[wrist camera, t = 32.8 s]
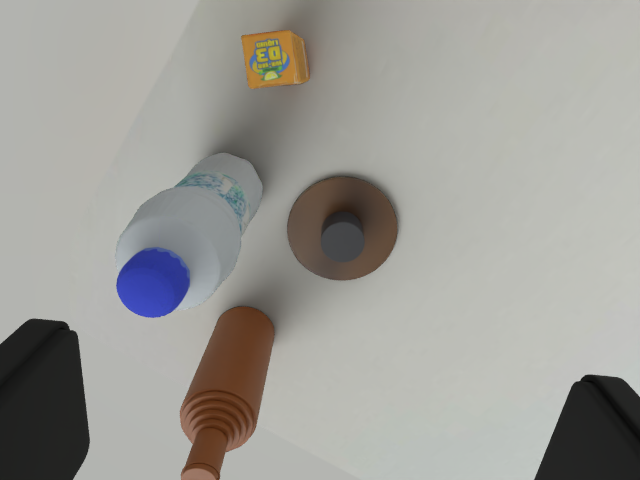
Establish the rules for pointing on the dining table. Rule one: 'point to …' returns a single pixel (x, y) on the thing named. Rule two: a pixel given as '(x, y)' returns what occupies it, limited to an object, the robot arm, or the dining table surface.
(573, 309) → the dining table surface
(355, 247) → the cap
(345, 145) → the dining table surface
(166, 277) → the bottle
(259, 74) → the supplement box
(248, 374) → the sauce bottle
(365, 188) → the coaster
